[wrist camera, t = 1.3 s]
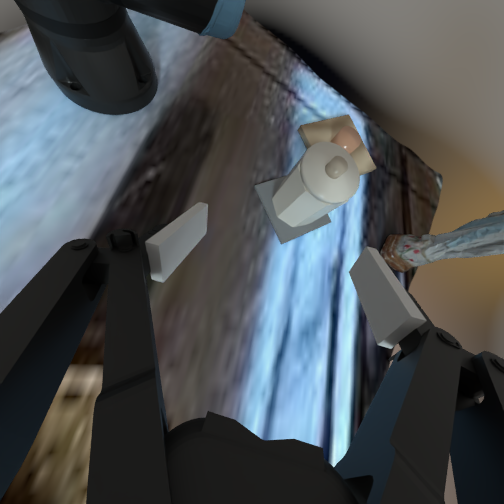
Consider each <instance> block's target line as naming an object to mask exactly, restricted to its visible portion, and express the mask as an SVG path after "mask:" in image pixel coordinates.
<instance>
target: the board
mask: <svg viewBox="0 0 504 504" xmlns="http://www.w3.org/2000/svg"><path fill="white" fill-rule="evenodd" d="M344 126H350V127H352V128H354V129H355V130H356V131H357V129H356V127H355V125H354V123H353V121H352V119H351V118H350V116H349V115H345V116H340V117H336V118H331V119H327V120H322V121H318V122H313V123H309V124H304V125H301V126H300V127H299V129H298V131H299V133H300V135H301V137H302V139H303V142H304V144H305V146H306V148H307V149H308V148H310V147H311V146H312V145H314V144H316V143H318V142H331V140H332V139H333V138H334V137H335V135H336V134H337V133H338V132H339V131H340V130H341V129H342V128H343V127H344ZM357 132H358V131H357ZM360 138H361V137H360ZM350 155H351V156H352V158H353V159H354V161H355V163H356V165H357V167H358V170H359V176H360V175H363V174H365V173H368V172H371V171H373V170H374V169H376V167H375V165H374V163H373V161H372V159H371V157H370V155H369V153H368V151H367V149H366V147H365V145H364V143H363V141H362V139H361V143H360V145H359V147H357V148H356V149H355V150H354V151H353V152H352V153H351V154H350Z"/></svg>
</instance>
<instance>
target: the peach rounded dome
mask: <svg viewBox="0 0 504 504" xmlns="http://www.w3.org/2000/svg"><path fill="white" fill-rule="evenodd" d="M331 143H335V144H337V145H339V146H341V147H342V148H344V149H345V150H346V151H347V152H348V153H349V154H351V153H352V152H353V151H354V150H355V149H356V148H357V147H359V145H360V143H361V138H360V135H359V133H358V132H357V131H356V130H355V129H354V128H352V127H350V126H344V127H343V128H342V129H341V130H340V131H339V132H338V133H337V134H336V135H335V137H334V138H333V139H332V140H331Z"/></svg>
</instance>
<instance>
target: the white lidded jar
mask: <svg viewBox="0 0 504 504" xmlns="http://www.w3.org/2000/svg"><path fill="white" fill-rule="evenodd" d="M359 182H360V176H359V170H358V167H357V165H356V163H355V161H354V159H353V158H352V156H351V155H350V154H349V153H348V152H347V151H346V150H345V149H344V148H342V147H341V146H339V145H337V144H335V143H331V142H318V143H316V144H314V145H312V146H311V147H310V148H308V149H307V150H306V152H305V153H304V154H303V156H302V157H301V158H300V160H299V161H298V162H297V164H296V165H295V166H294V167H293V169H292V170H291V171H290V173H289V174H288V175H287V177H286V178H285V179H284V181H283V182H282V183H281V185H280V186H279V188H278V190H277V191H276V193H275V195H274V196H273V198H272V201H273V204H274V208H275V211H276V215H277V217H278V218H279V219H281V220H282V221H284V222H285V223H287V224H288V225H290V226H291V227H297V226H302V225H307V224H310V223H312V222H313V221H315V220H317V219H319V218H320V217H322V216H324V215H325V214H327V213H329V212H331V211H332V210H334V209H336V208H338V207H339V206H341V205H343V204H345V203H346V202H348V200H349V198H351V197H352V196H353V195H354V194H355V193H356V191H357V189H358V187H359Z"/></svg>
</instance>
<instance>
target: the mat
mask: <svg viewBox="0 0 504 504" xmlns="http://www.w3.org/2000/svg"><path fill="white" fill-rule="evenodd" d="M286 177H287V176H283V177H280V178H277V179H274V180H271V181H268V182H264V183H261V184H258V185H255V186H254V187H255V189H256V191H257V193H258V196H259V198H260V200H261V202H262V204H263V206H264V208H265V211H266V213H267V215H268V217H269V219H270V221H271V223H272V226H273V228H274V230H275V232H276V234H277V236H278V238H279V241H280V243H281V244H283V243H286V242H288V241H290V240H292V239H295V238H297V237H299V236H301V235H303V234H306V233H308V232H310V231H312V230H315V229H317V228H319V227H321V226H324V225H326V224H328V223H330V222H331V220H330V218H329V216H328V214H325V215H324V216H322V217H320V218H319V219H317V220H315V221H313V222H312V223H310V224H307V225H302V226H297V227H291V226H290V225H288V224H287V223H285V222H284V221H282V220H281V219H279V218H278V217H277V215H276V211H275V208H274V204H273V201H272V198H273V196H274V195H275V193H276V191H277V190H278V188H279V186H280V185H281V183H282V182H283V181H284V179H285V178H286Z"/></svg>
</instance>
